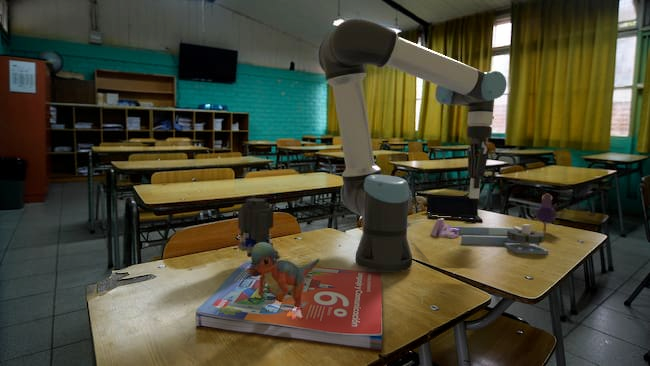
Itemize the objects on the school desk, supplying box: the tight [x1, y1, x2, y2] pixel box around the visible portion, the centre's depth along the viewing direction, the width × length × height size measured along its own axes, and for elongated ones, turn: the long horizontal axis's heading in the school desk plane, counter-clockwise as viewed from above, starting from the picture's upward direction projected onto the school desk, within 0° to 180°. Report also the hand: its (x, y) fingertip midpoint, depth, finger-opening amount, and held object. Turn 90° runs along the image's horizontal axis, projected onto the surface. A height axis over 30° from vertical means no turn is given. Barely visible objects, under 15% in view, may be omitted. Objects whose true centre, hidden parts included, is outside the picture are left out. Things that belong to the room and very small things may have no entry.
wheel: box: [506, 228, 546, 244], centre depth 114 cm, size 10×10×2 cm
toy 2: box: [248, 242, 320, 307], centre depth 73 cm, size 19×11×15 cm, turn 119°
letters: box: [429, 218, 460, 239], centre depth 131 cm, size 8×7×6 cm
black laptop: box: [426, 193, 484, 224], centre depth 160 cm, size 21×16×10 cm
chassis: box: [450, 223, 549, 255], centre depth 122 cm, size 24×25×8 cm
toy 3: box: [534, 192, 559, 233], centre depth 137 cm, size 11×12×7 cm
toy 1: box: [237, 197, 274, 258], centre depth 100 cm, size 9×9×15 cm
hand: (474, 198), depth 126 cm, fingers closed
